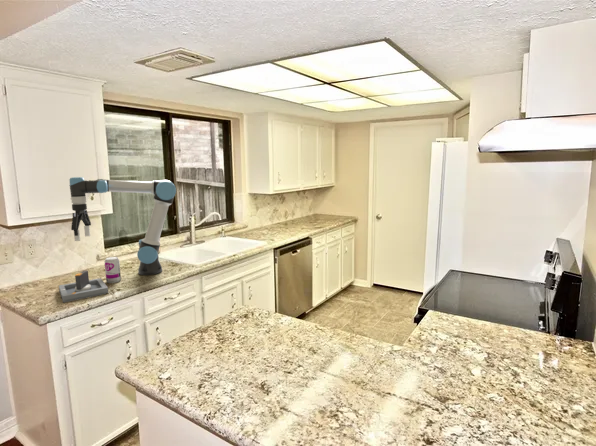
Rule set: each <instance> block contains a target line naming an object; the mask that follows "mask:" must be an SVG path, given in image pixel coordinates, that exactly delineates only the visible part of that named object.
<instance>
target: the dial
mask: <svg viewBox="0 0 596 446" xmlns="http://www.w3.org/2000/svg"><path fill="white" fill-rule="evenodd" d="M74 278H75V279H74V280H75V282H76V287H75V292H81V291H86V290H91V285H90V284H89V280H90V279H89V278H90V277H89V271H88V270H82V271H81V272H79V273H76V274H75V275H74Z"/></svg>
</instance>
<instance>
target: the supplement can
mask: <svg viewBox="0 0 596 446" xmlns="http://www.w3.org/2000/svg"><path fill="white" fill-rule="evenodd" d="M104 272H105V281H106V283H108V284H116V283H119V282H120V281H121V280H122V276H121V263H120V259H119V258H118V256H110V257H109V256H108V257H106V258H105V259H104Z"/></svg>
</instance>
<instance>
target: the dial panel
mask: <svg viewBox="0 0 596 446" xmlns="http://www.w3.org/2000/svg"><path fill="white" fill-rule="evenodd" d="M89 284H90V285H91V290H86V291H81V292H75V287H76V281H75V282H72V283H71V282H70V283H66V284H60V285H58V291H59V292H58V293H59V294H60V297H61V300H62V303H64V304H65V303H68V302H73V301H78V300H83V299H88V297H89V298H94V297H98V295H99V296H103V295H102V294H104V295H107V294H106V293H108V294H109V287H108V286H107V285H106V283H105V281H103V279H102V278H100V277H99V278H98V277H97V278H93V279H89ZM93 296H94V297H93Z"/></svg>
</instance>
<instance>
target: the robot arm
mask: <svg viewBox="0 0 596 446" xmlns="http://www.w3.org/2000/svg"><path fill="white" fill-rule="evenodd" d="M69 191H70V200H71V209H72V211H74V212H72V220H71V226H70V227H71V228H70V229H71V231H73V236H74V242H81V236H80V229H79V228H80V224H81V221H82V223H83V224H84V226H83V229H84V236H85V237H91V229H90V226H91V225H92V223H91V219H90V217H89V214H88V205H87V196H86V194H105V193H108V192H110V193H111V192H113V193H132V194H133V193H134V194H135V193H136V194H137V193H138V194H139V193H140V194H152V195H153V201H154V205H153V208H152V211H151V215H150V218H149V223H148V226H147V229H146V231H145V232H146V233H145V236H144V238H142V239H139V240H138V250H137V259H138V261H139V265H138V269H137V270H138V271H137V272H138V275H140V276H151V275H156V274H160V273H162V272H163V266H162V264H161V262H160V259H159V258H160V257H159V251H160V247H161V243H160V239H161V235H162V231H163V227H164V224H165V221H166V217H167V213H168V211H169V207H170V206H171V205H172V204H173V202H174V199H175V195H176V194H177V188H176V185H175V183H174V182H173V181H171V180H168V179H160V180H154V179H153V180H152V181H140V180H139V181H138V180H123V179H121V180H120V179H116V180H115V179H104V178H97V179H95V180H86V179H85V178H84V177H83V176H82V177H81V176H80V177H79V176H76V177H70V178H69Z"/></svg>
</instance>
